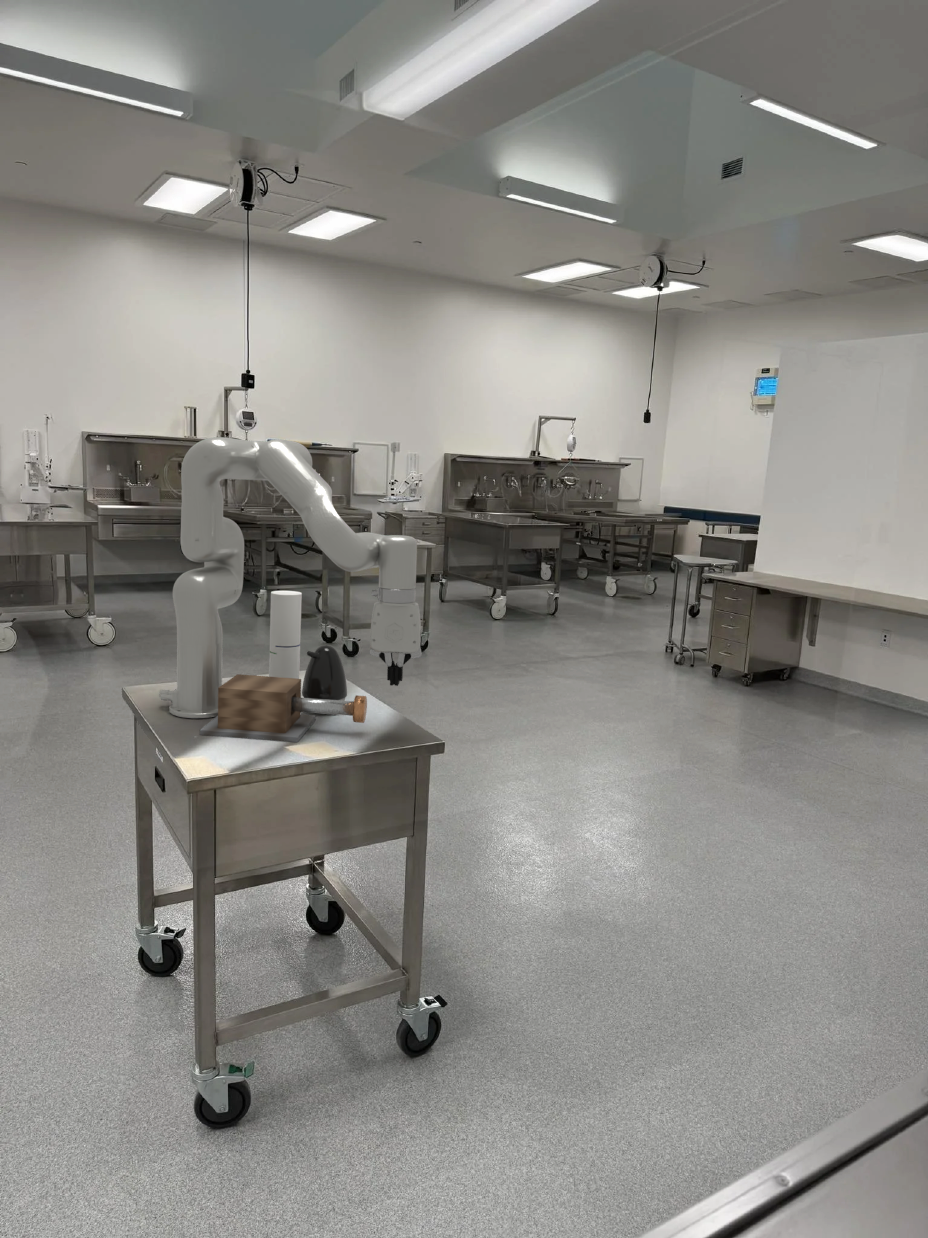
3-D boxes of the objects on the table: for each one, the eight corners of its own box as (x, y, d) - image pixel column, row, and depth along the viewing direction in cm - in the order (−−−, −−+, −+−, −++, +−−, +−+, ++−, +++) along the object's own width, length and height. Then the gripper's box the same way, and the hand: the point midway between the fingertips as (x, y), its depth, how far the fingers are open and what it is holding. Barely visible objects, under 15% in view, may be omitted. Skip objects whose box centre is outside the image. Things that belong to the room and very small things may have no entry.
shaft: (265, 719, 172) (266, 692, 171) (273, 711, 177) (274, 686, 176) (361, 726, 171) (362, 700, 170) (366, 718, 177) (367, 693, 176)
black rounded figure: (291, 708, 190) (293, 643, 187) (326, 701, 198) (328, 638, 195) (320, 719, 183) (322, 651, 181) (355, 711, 191) (358, 646, 189)
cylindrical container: (291, 700, 197) (294, 595, 193) (263, 696, 198) (265, 593, 194) (303, 693, 204) (306, 592, 200) (276, 689, 205) (278, 589, 201)
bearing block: (199, 734, 168) (200, 689, 166) (226, 713, 184) (226, 671, 182) (297, 742, 167) (298, 696, 165) (315, 719, 183) (317, 677, 181)
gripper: (357, 597, 166) (355, 686, 169) (431, 600, 165) (428, 690, 168) (363, 592, 173) (362, 678, 176) (435, 595, 172) (432, 681, 175)
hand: (394, 684), depth 172 cm, fingers closed
